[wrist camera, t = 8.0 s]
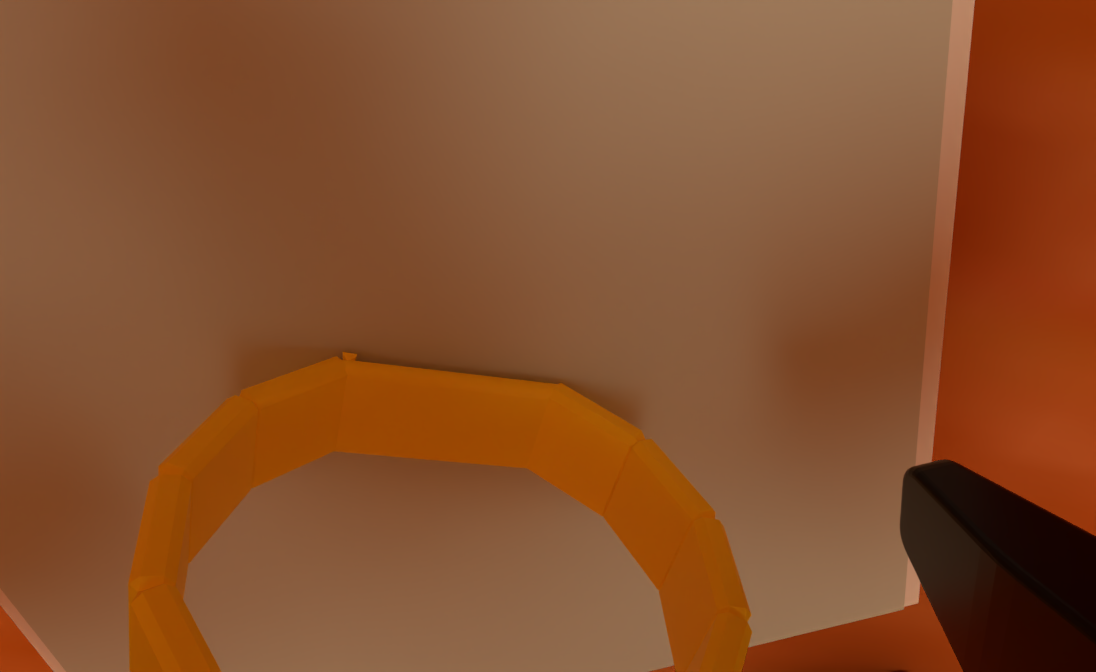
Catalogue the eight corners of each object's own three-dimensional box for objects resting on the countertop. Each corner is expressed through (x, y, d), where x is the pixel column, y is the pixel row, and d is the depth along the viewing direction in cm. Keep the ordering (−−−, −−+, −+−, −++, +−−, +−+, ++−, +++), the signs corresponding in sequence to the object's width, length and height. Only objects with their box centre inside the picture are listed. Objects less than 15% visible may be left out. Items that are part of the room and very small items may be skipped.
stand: (833, 471, 19) (929, 621, 15) (190, 624, 18) (143, 812, 15) (841, -345, 11) (1039, -407, 8) (-273, -111, 10) (-587, -64, 7)
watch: (211, 450, 11) (7, 981, 6) (222, 272, 10) (-32, 785, 5) (640, 511, 13) (742, 1000, 8) (706, 359, 11) (886, 845, 6)
